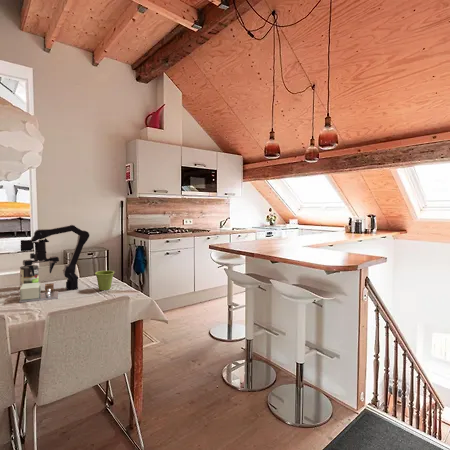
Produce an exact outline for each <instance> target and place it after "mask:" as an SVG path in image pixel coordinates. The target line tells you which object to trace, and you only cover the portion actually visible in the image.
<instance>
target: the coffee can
mask: <svg viewBox="0 0 450 450" xmlns="http://www.w3.org/2000/svg"><path fill="white" fill-rule="evenodd" d="M32 265H33V268H34V276H33V275H32V272H31V270H30V269H29V267H27V266H24V265H22V266H20V267H19V269H20V271H19V272H20V287H21V286H22V285H23V284H27V283H38V282H39V280H40V278H39V276H40V275H39V273H40V272H39V265H38V264H35V265H34V264H32Z"/></svg>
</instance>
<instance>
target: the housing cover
mask: <svg viewBox="0 0 450 450" xmlns="http://www.w3.org/2000/svg"><path fill="white" fill-rule="evenodd" d="M41 284H42V283H41V282H38V283H27V284H23V285H22V286H21V285H20V288H19V298H20V299H19V300H24V299H34V298H39V293H42V292H41V289H42V288H41V287H42V286H41Z"/></svg>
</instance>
